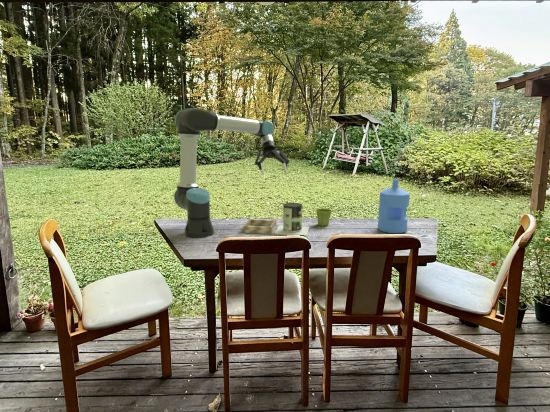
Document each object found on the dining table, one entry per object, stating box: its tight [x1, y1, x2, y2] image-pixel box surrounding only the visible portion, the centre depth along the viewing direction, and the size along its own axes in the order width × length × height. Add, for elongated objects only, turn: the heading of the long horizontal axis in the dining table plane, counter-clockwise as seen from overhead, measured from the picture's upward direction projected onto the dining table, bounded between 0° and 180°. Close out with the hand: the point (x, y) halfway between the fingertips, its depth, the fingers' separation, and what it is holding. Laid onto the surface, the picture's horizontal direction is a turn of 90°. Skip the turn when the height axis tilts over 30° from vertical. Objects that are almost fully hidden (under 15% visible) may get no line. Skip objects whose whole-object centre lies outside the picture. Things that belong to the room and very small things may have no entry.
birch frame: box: [242, 218, 277, 235], centre depth 213 cm, size 15×15×4 cm
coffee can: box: [282, 202, 303, 232], centre depth 209 cm, size 10×10×14 cm
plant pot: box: [315, 208, 333, 227], centre depth 222 cm, size 9×9×9 cm
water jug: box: [377, 179, 411, 234], centre depth 210 cm, size 16×16×28 cm
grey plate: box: [274, 224, 310, 237], centre depth 210 cm, size 17×17×1 cm
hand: (274, 173), depth 217 cm, fingers open, 13 cm apart
